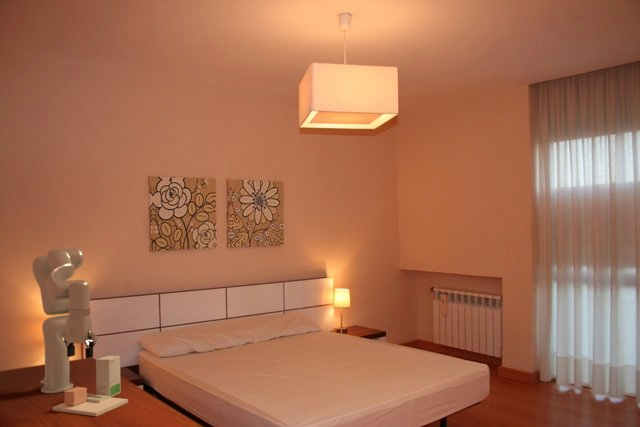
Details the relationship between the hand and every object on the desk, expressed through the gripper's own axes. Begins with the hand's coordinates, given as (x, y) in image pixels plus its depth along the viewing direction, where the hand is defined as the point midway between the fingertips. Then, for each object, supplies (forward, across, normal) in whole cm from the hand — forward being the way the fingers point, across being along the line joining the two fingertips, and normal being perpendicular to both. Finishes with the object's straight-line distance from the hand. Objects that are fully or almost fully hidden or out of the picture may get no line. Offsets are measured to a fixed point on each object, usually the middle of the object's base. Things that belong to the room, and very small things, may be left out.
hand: (80, 357), depth 199 cm
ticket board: (+19, +4, +1) cm, 19 cm away
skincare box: (+19, 0, +14) cm, 24 cm away
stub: (+17, -1, -1) cm, 17 cm away
